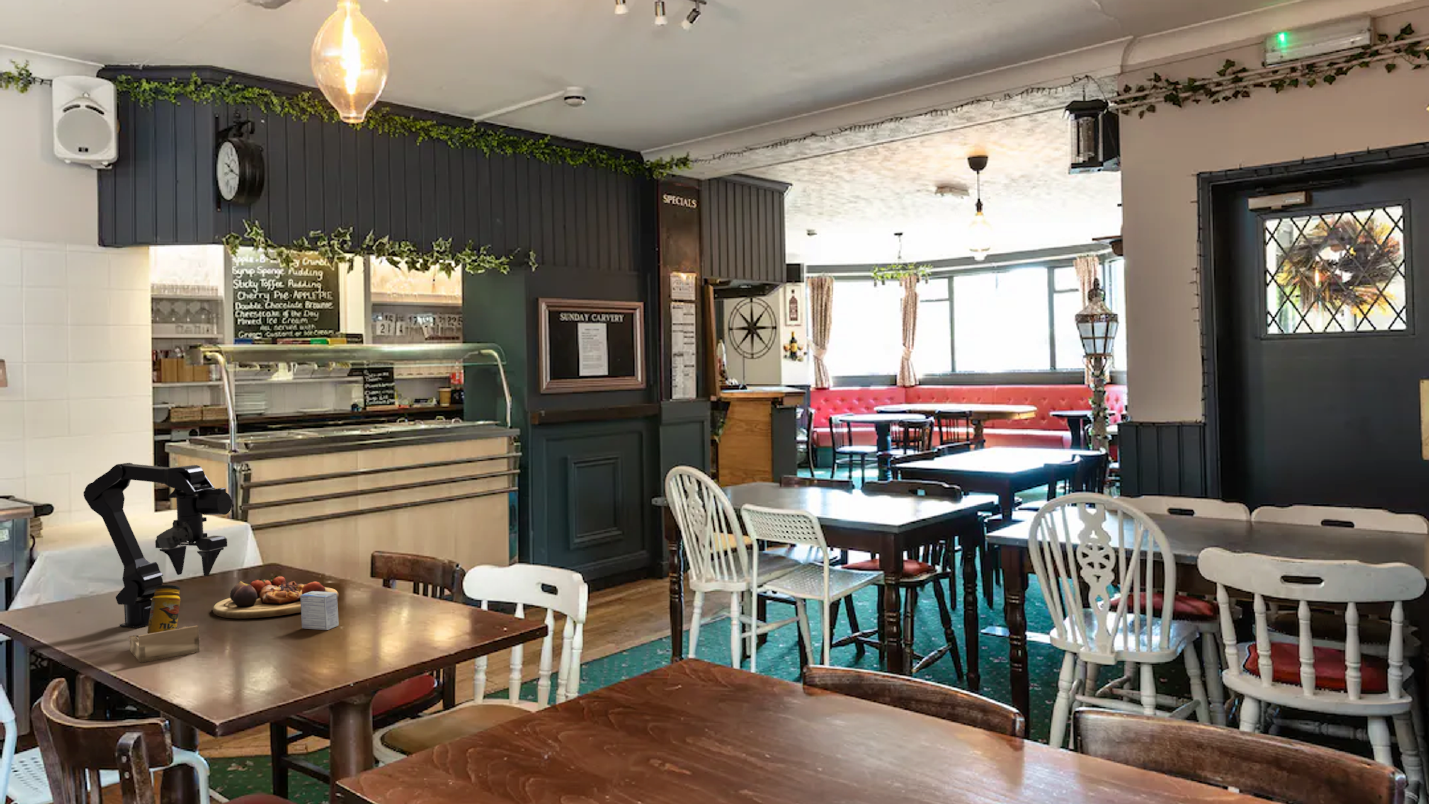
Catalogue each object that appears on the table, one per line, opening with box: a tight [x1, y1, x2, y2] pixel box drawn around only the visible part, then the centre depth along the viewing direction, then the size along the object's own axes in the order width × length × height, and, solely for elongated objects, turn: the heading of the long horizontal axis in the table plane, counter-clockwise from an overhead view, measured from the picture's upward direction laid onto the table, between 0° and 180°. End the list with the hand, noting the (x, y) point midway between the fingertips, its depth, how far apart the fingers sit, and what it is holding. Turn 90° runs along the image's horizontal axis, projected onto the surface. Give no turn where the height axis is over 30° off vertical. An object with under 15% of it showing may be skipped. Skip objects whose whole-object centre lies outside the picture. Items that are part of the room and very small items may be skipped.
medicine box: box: [300, 591, 339, 631], centre depth 246 cm, size 8×4×9 cm, turn 71°
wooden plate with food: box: [212, 574, 340, 619], centre depth 272 cm, size 32×32×8 cm
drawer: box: [128, 625, 201, 664], centre depth 228 cm, size 13×12×6 cm
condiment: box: [134, 584, 181, 638], centre depth 233 cm, size 7×8×12 cm
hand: (192, 575), depth 251 cm, fingers open, 9 cm apart
